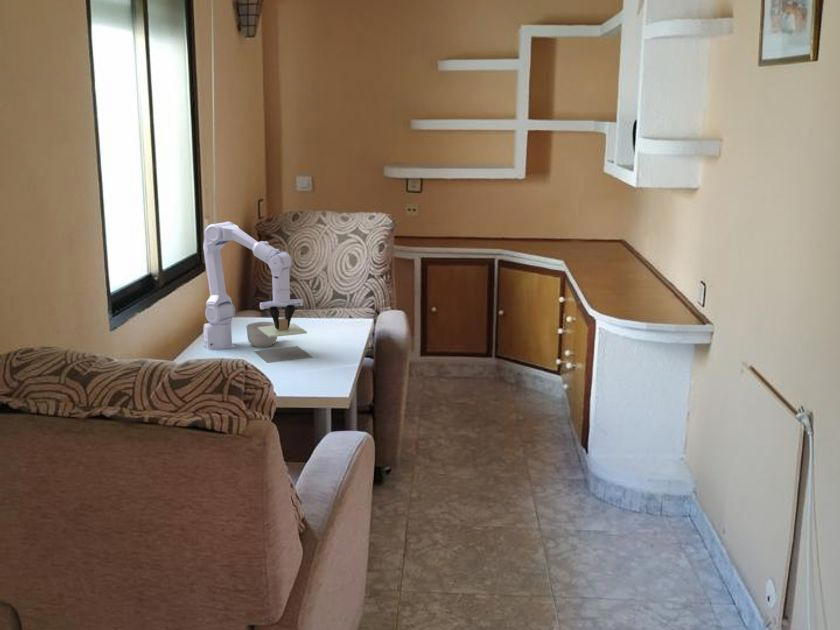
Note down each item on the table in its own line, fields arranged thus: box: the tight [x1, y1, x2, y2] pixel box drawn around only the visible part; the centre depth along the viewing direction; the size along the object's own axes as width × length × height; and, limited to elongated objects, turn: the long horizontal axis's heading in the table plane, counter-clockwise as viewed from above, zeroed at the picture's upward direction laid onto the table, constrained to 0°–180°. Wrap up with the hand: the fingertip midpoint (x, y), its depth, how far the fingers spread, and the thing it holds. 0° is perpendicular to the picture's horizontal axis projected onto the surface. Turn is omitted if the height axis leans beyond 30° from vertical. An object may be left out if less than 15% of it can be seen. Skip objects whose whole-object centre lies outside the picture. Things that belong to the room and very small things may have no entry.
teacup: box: [245, 320, 278, 348], centre depth 301 cm, size 14×11×8 cm
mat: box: [253, 345, 313, 364], centre depth 289 cm, size 16×16×1 cm
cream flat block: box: [258, 317, 308, 338], centre depth 286 cm, size 13×13×4 cm
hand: (282, 327), depth 287 cm, fingers closed on cream flat block, 3 cm apart
